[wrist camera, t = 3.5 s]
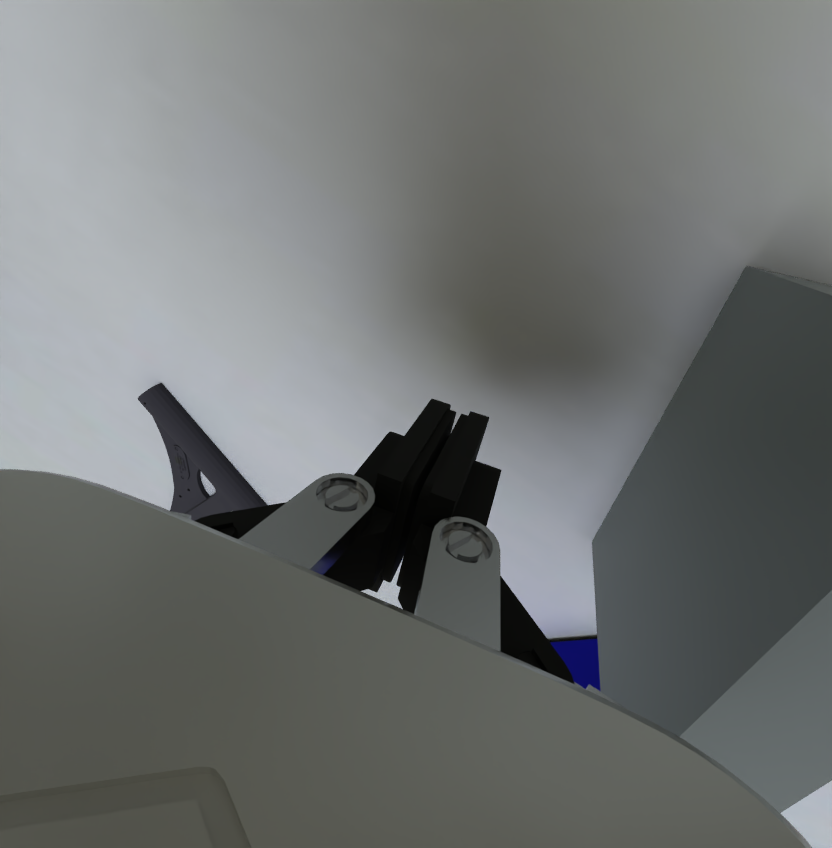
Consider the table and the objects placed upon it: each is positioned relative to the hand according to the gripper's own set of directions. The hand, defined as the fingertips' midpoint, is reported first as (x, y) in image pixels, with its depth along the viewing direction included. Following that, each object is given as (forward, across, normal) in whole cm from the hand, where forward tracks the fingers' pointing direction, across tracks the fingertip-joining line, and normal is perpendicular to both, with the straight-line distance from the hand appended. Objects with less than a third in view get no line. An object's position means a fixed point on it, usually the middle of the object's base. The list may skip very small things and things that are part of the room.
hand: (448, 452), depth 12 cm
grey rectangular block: (+6, -8, 0) cm, 10 cm away
